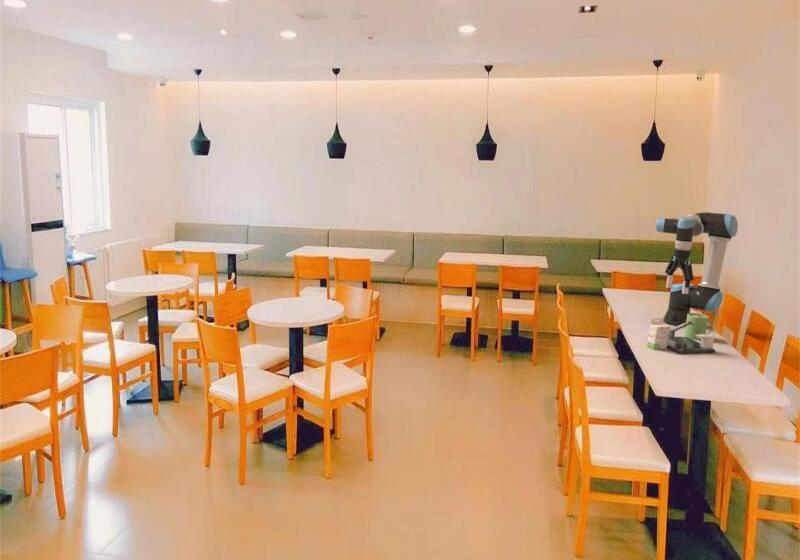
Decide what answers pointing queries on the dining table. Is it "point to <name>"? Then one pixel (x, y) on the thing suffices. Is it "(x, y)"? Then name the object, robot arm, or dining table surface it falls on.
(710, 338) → the lug slider
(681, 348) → the base tray
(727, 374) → the dining table surface
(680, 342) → the heat sink
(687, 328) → the mug
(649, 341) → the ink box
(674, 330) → the strap
